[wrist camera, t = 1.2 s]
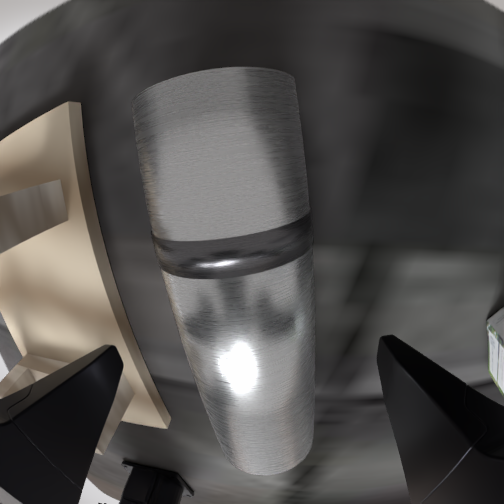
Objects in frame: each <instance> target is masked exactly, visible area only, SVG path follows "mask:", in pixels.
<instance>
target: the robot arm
mask: <svg viewBox="0 0 504 504" xmlns="http://www.w3.org/2000/svg"><path fill="white" fill-rule="evenodd" d="M377 365H378V370H379V375H380V380H381V385H382V391H383V396H384V401H385V405H386V408H387V412H388V415H389V418H390V422H391V425H392V429H393V432H394V436H395V439H396V443H397V446H398V450H399V454H400V458H401V462H402V466H403V470H404V474H405V478H406V482H407V487H408V491H409V496H410V500H411V504H504V406H502V405H500V404H498V403H497V402H495V401H493V400H491V399H489V398H488V397H486V396H485V395H483V394H481V393H480V392H478V391H477V390H475V389H474V388H472V387H471V386H469V385H467V384H466V383H465V382H463V381H462V380H460V379H459V378H457V377H456V376H454V375H453V374H451V373H450V372H448V371H447V370H445V369H444V368H442V367H441V366H439V365H438V364H436V363H435V362H433V361H432V360H430V359H429V358H427V357H426V356H424V355H423V354H421V353H420V352H418V351H417V350H415V349H414V348H412V347H411V346H409V345H408V344H406V343H405V342H403V341H402V340H400V339H399V338H397V337H396V336H394V335H385V336H381V337H380V340H379V346H378V352H377ZM123 368H124V364H123V361H122V358H121V356H120V354H119V352H118V350H117V348H116V346H114V345H109V344H105V345H103V346H101V347H99V348H97V349H95V350H94V351H92V352H90V353H88V354H86V355H84V356H83V357H81V358H79V359H77V360H75V361H73V362H71V363H70V364H68V365H66V366H64V367H62V368H60V369H58V370H57V371H55V372H53V373H51V374H49V375H47V376H45V377H44V378H42V379H40V380H38V381H36V382H34V384H33V383H32V384H30V385H28V386H27V387H25V388H23V389H21V390H19V391H17V392H15V393H12V394H10V395H8V396H6V397H4V398H1V399H0V504H78V503H79V500H80V497H81V493H82V489H83V486H84V483H85V480H86V477H87V474H88V471H89V468H90V465H91V462H92V459H93V456H94V453H95V450H96V447H97V445H98V442H99V439H100V436H101V434H102V431H103V428H104V426H105V423H106V420H107V418H108V415H109V413H110V410H111V407H112V405H113V402H114V399H115V396H116V392H117V389H118V385H119V382H120V378H121V375H122V372H123ZM121 465H122V466H123V467H124V468H125V469H126V470H127V471H128V473H129V474H130V475H129V478H128V480H127V483H126V485H125V488H124V490H123V492H122V495H121V496H122V497H121V500H120V502H119V504H180V501H181V498H182V496H185V497H193V496H194V493H193V492H192V491H191V490H190V489H189V487H188V486H187V485H186V484H185V483H184V481H183V480H182V479H181V478H180V476H179V475H178V474H176V473H173V472H168V471H163V470H158V469H153V468H149V467H144V466H140V465H136V464H132V463H128V462H125V461H123V462H122V464H121ZM98 504H101V503H98ZM104 504H106V503H104Z"/></svg>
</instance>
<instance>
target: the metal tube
mask: <svg viewBox="0 0 504 504" xmlns="http://www.w3.org/2000/svg"><path fill="white" fill-rule="evenodd" d="M132 111H133V120H134V128H135V136H136V143H137V150H138V157H139V163H140V170H141V176H142V181H143V187H144V193H145V198H146V203H147V208H148V213H149V218H150V223H151V228H152V231H151V235H152V240H153V244H154V248H155V253H156V257H157V261H158V265H159V267H160V268H161V270H162V274H163V278H164V282H165V286H166V289H167V293H168V297H169V300H170V304H171V308H172V311H173V314H174V318H175V321H176V325H177V328H178V331H179V334H180V338H181V341H182V344H183V347H184V350H185V353H186V356H187V359H188V362H189V365H190V368H191V371H192V374H193V377H194V379H195V382H196V385H197V388H198V391H199V393H200V396H201V399H202V401H203V404H204V407H205V409H206V412H207V414H208V417H209V419H210V422H211V424H212V427H213V429H214V432H215V434H216V436H217V439H218V441H219V444H220V446H221V448H222V450H223V453H224V455H225V457H226V458H227V459H228V461H229V462H230V463H231V464H232V465H234V466H235V467H236V468H238V469H240V470H242V471H244V472H247V473H250V474H255V475H273V474H278V473H282V472H285V471H287V470H290V469H291V468H293V467H295V466H296V465H298V464H299V463H300V462H301V461H302V460H303V459H304V458H305V457H306V456H307V455H308V453H309V451H310V449H311V447H312V443H313V431H314V406H315V299H314V272H313V252H312V245H313V226H312V212H311V207H310V206H309V195H308V184H307V174H306V164H305V154H304V145H303V137H302V128H301V121H300V113H299V106H298V98H297V92H296V85H295V79H294V77H293V76H291V75H290V74H288V73H286V72H283V71H279V70H275V69H269V68H261V67H227V68H216V69H209V70H203V71H198V72H193V73H188V74H184V75H181V76H177V77H174V78H171V79H168V80H165V81H162V82H160V83H157V84H155V85H153V86H151V87H149V88H147V89H145V90H143V91H142V92H140V93H139V94H138V95H137V96H135V97H134V99H133V100H132Z"/></svg>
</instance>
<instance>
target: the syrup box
mask: <svg viewBox="0 0 504 504" xmlns="http://www.w3.org/2000/svg"><path fill="white" fill-rule="evenodd" d="M487 335H488V370H489V374H490V376H491V377H492V379H493V380H494V382H495V384H496V385H497V387H498V388H499V390H500V392H501V393H502V395H503V397H504V307H503V308H502V309H500V310H499V311H498V312H497V313H496V314H494V315H493V316H492V317H490V318H489V319H488V320H487Z"/></svg>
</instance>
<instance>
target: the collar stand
mask: <svg viewBox="0 0 504 504" xmlns="http://www.w3.org/2000/svg"><path fill="white" fill-rule="evenodd" d="M0 311H1V313H2V315H3V318H4V320H5V322H6V324H7V326H8V329H9V331H10V333H11V335H12V337H13V339H14V341H15V343H16V345H17V346H18V348H19V350H20V352H21V354H22V356H23V358H22V359H21V360H20V362H19V363H18V364H17V365H16V366H15V367H14V368H13V369H12V370H11V371H10V372H9V373H8V374H7V375H6V377H5V378H4V379H3V380H2V381H1V382H0V399H1V398H4V397H6V396H8V395H10V394H12V393H15V392H17V391H19V390H21V389H23V388H25V387H27V386H28V385H30V384H32V383H33V384H34V382H36V381H38V380H40V379H42V378H44V377H45V376H47V375H49V374H51V373H53V372H55V371H57V370H58V369H60V368H62V367H64V366H66V365H68V364H70V363H71V362H73V361H75V360H77V359H79V358H81V357H83V356H84V355H86V354H88V353H90V352H92V351H94V350H95V349H97V348H99V347H101V346H103V345H105V344H109V345H114V346H116V348H117V350H118V352H119V354H120V356H121V358H122V361H123V364H124V368H123V372H122V375H121V378H120V382H119V385H118V389H117V392H116V396H115V399H114V402H113V405H112V407H111V410H110V413H109V415H108V418H107V420H106V423H105V426H104V428H103V431H102V434H101V436H100V439H99V442H98V445H97V447H96V450H95V453H98V454H101V455H104V453H105V451H106V449H107V447H108V445H109V443H110V441H111V439H112V437H113V435H114V433H115V431H116V429H117V427H118V425H119V423H120V421H125V422H130V423H135V424H140V425H145V426H151V427H158V428H164V429H168V426H169V424H170V421H171V417H170V415H169V413H168V411H167V409H166V407H165V405H164V403H163V401H162V399H161V397H160V395H159V393H158V391H157V389H156V386H155V384H154V382H153V380H152V378H151V375H150V373H149V371H148V369H147V366H146V364H145V362H144V359H143V357H142V355H141V352H140V350H139V347H138V345H137V342H136V340H135V337H134V335H133V332H132V329H131V327H130V324H129V321H128V319H127V316H126V313H125V310H124V307H123V305H122V302H121V299H120V296H119V293H118V289H117V286H116V283H115V280H114V277H113V273H112V270H111V267H110V263H109V260H108V256H107V252H106V249H105V245H104V241H103V237H102V233H101V229H100V225H99V220H98V216H97V211H96V207H95V202H94V197H93V192H92V187H91V181H90V175H89V169H88V163H87V156H86V149H85V141H84V132H83V123H82V111H81V103H79V102H70V101H68V102H66V103H64V104H62V105H60V106H58V107H56V108H54V109H52V110H50V111H49V112H47V113H45V114H43V115H41V116H40V117H38V118H36V119H34V120H33V121H31V122H29V123H28V124H26V125H24V126H23V127H21V128H20V129H18V130H16V131H15V132H13V133H12V134H10V135H9V136H7V137H6V138H4V139H3V140H1V141H0Z"/></svg>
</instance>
